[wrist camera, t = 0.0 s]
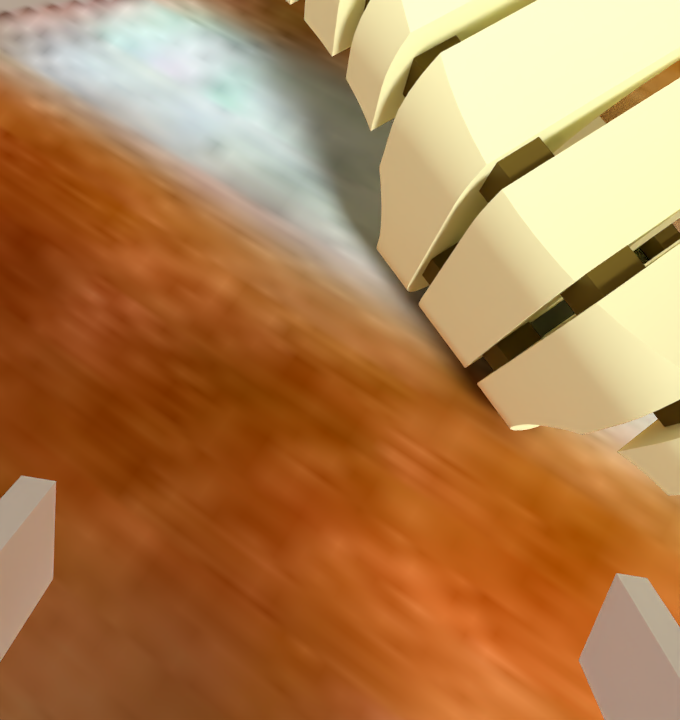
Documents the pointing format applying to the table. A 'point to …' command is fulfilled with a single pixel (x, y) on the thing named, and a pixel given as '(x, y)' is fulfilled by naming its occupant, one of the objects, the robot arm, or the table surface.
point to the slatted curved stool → (533, 197)
